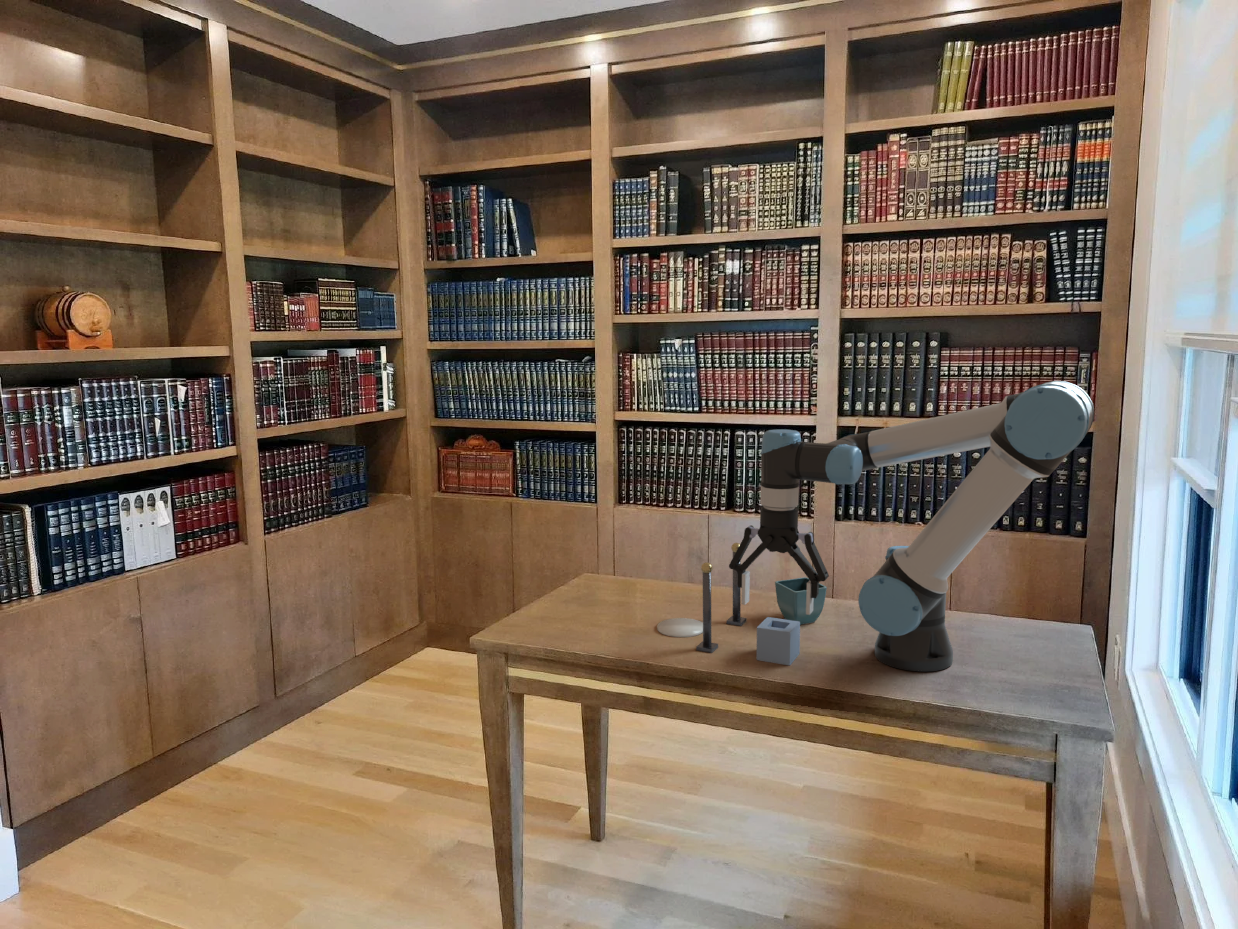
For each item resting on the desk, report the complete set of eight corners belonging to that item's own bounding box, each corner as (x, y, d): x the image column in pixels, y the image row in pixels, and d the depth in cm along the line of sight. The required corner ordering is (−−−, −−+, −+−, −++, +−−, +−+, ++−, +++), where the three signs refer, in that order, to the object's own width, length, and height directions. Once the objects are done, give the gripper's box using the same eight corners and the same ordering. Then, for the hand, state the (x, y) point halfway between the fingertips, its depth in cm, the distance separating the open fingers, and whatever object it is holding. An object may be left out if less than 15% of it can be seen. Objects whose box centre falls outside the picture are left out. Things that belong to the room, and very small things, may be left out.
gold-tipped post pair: (746, 621, 198) (746, 541, 195) (712, 653, 179) (711, 565, 176) (732, 619, 199) (731, 540, 196) (696, 650, 181) (695, 563, 178)
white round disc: (712, 624, 196) (712, 622, 196) (694, 640, 186) (694, 637, 186) (669, 617, 201) (669, 615, 201) (649, 632, 192) (649, 630, 191)
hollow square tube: (799, 653, 177) (800, 621, 176) (789, 665, 171) (790, 632, 170) (767, 648, 181) (767, 617, 180) (756, 660, 175) (756, 627, 173)
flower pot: (827, 624, 195) (828, 586, 193) (794, 630, 191) (795, 591, 190) (805, 613, 203) (805, 576, 201) (773, 618, 199) (773, 581, 198)
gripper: (846, 508, 169) (842, 611, 172) (727, 497, 180) (726, 593, 184) (836, 516, 162) (833, 622, 166) (714, 504, 174) (713, 604, 177)
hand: (776, 607), depth 175 cm, fingers open, 13 cm apart
